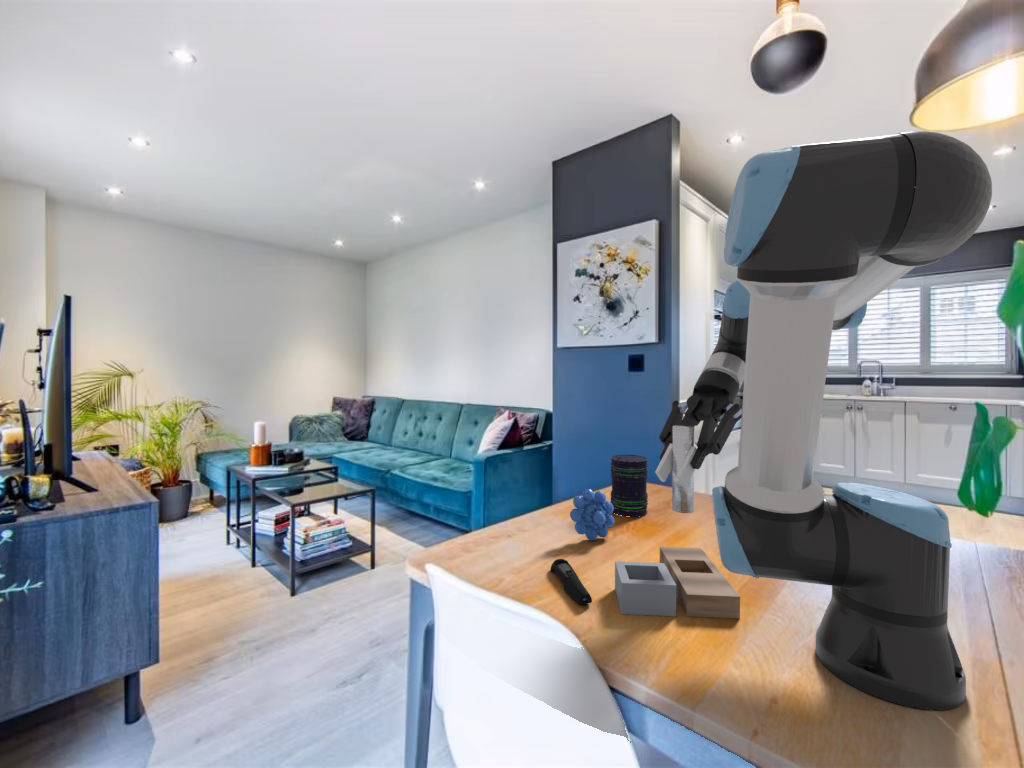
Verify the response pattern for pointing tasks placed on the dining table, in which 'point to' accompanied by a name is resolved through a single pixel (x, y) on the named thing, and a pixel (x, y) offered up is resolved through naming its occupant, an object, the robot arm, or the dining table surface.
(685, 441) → the axle
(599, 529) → the blue lobed rosette
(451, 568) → the dining table surface
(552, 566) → the electric trimmer
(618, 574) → the block
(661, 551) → the beam
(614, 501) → the dark blue ridged cylinder
